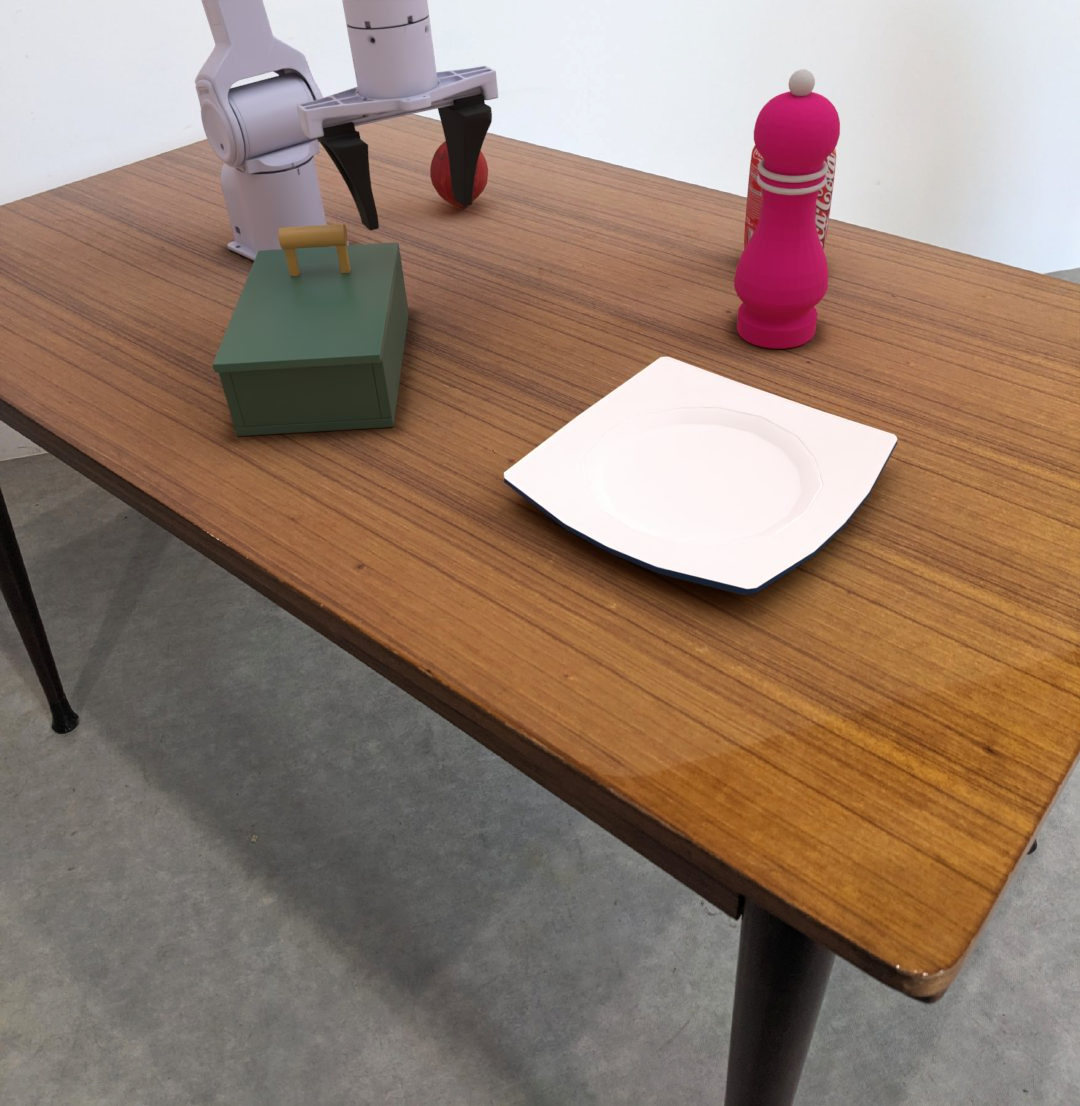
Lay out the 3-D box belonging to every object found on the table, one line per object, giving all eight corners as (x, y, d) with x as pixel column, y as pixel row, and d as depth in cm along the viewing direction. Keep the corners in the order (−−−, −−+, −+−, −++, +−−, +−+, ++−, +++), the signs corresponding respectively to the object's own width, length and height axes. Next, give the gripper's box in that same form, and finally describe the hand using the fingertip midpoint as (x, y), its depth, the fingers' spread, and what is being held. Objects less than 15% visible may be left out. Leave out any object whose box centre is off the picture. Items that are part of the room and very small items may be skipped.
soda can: (817, 249, 96) (835, 114, 88) (826, 285, 91) (845, 144, 83) (739, 250, 97) (750, 116, 89) (743, 285, 91) (754, 145, 84)
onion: (489, 218, 105) (482, 137, 100) (432, 221, 105) (422, 140, 100) (492, 196, 109) (486, 117, 104) (437, 198, 110) (428, 120, 105)
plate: (659, 377, 81) (660, 346, 79) (912, 467, 70) (920, 434, 68) (482, 510, 69) (479, 477, 67) (754, 642, 59) (759, 607, 57)
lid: (381, 363, 73) (371, 303, 70) (214, 373, 73) (197, 314, 70) (399, 249, 87) (392, 196, 84) (260, 258, 87) (247, 205, 84)
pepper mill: (821, 355, 82) (858, 86, 69) (727, 350, 83) (747, 85, 70) (821, 311, 87) (856, 54, 74) (733, 307, 88) (752, 54, 75)
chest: (393, 427, 77) (382, 357, 73) (236, 436, 77) (216, 367, 73) (409, 314, 90) (399, 250, 87) (275, 322, 91) (260, 258, 87)
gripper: (302, 49, 67) (343, 253, 75) (507, 10, 71) (525, 207, 80) (273, 30, 72) (315, 223, 80) (467, -5, 76) (487, 181, 85)
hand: (417, 213), depth 80 cm, fingers open, 7 cm apart
